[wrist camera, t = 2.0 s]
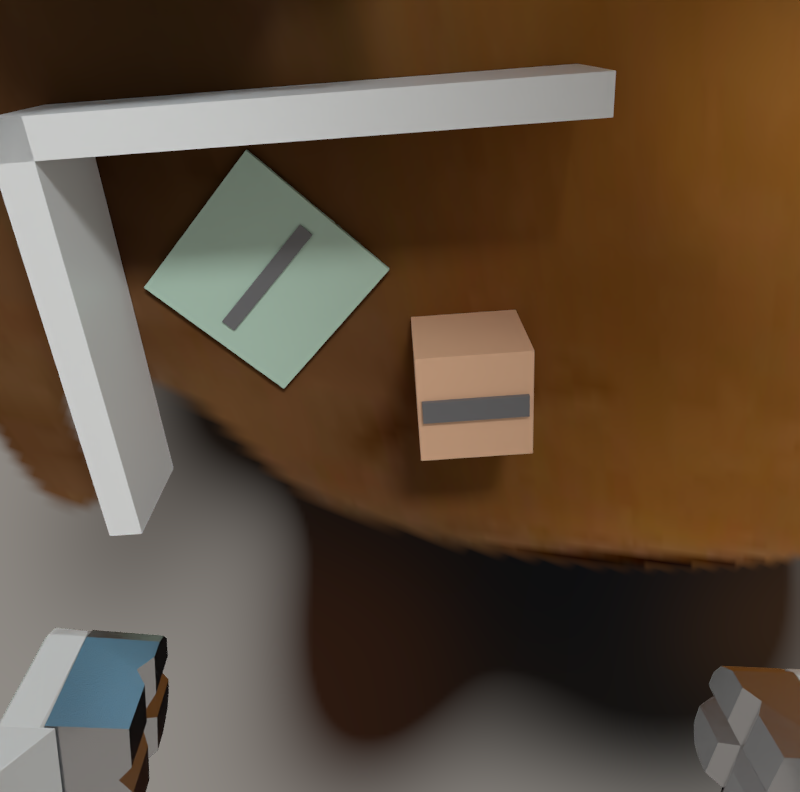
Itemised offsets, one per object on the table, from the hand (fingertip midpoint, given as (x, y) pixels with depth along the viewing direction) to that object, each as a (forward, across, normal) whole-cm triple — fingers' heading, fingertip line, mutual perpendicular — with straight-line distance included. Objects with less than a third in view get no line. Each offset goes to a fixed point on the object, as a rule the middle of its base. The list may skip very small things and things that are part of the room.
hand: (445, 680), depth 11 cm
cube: (+25, -4, +5) cm, 26 cm away
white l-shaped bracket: (+25, +2, +2) cm, 25 cm away
